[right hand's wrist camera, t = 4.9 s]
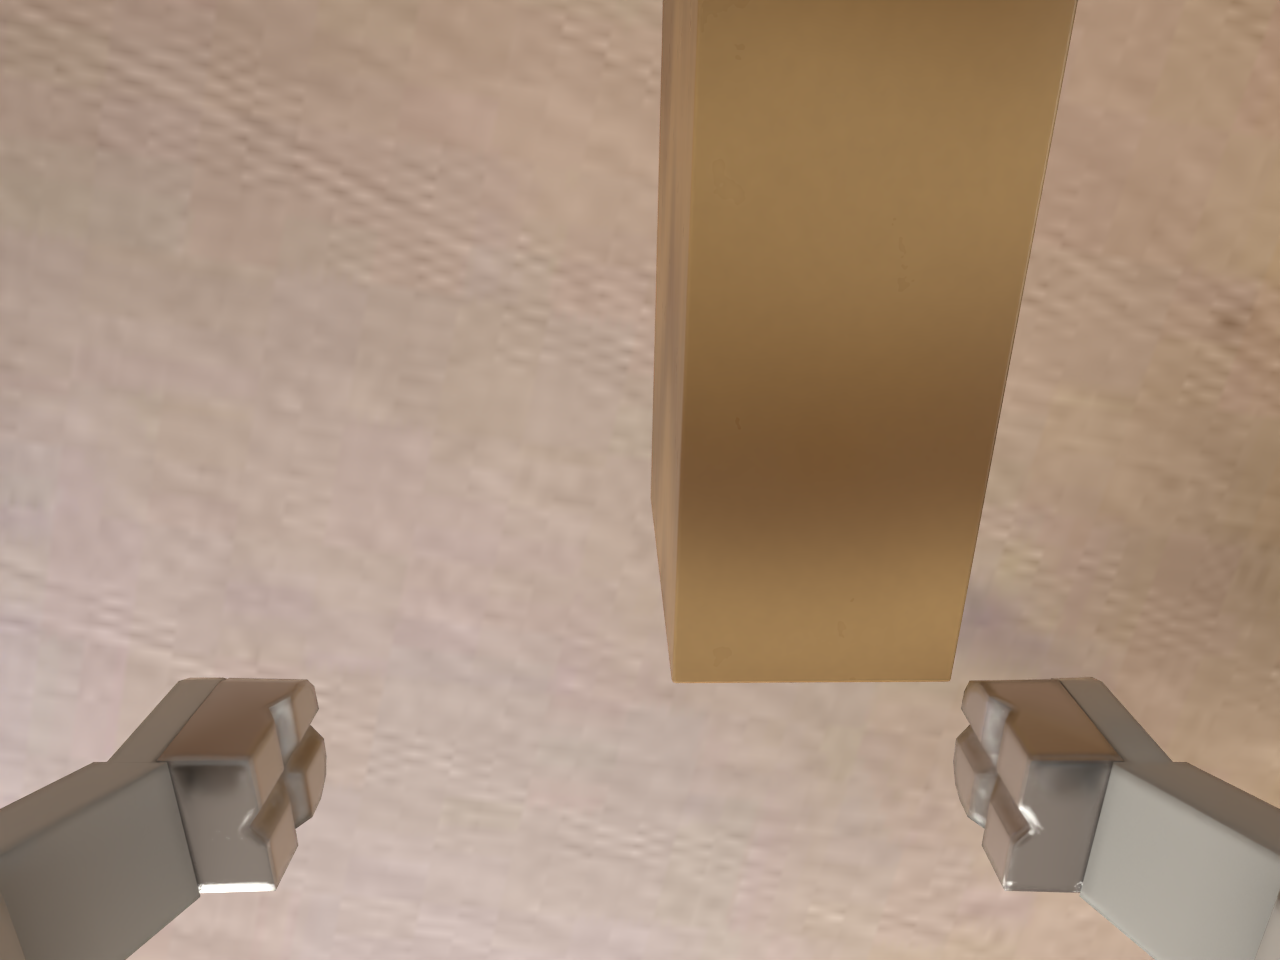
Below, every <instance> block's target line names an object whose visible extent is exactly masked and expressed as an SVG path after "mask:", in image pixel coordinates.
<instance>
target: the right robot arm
mask: <svg viewBox="0 0 1280 960" xmlns="http://www.w3.org/2000/svg"><path fill="white" fill-rule="evenodd" d="M318 709H319V707H318V702H317V697H316V693H315V688H314V686H313V685H312V684H311V683H310V682H309V681H308V680H303V679H256V678H228V679H226V678H188V679H184V680H181V681H179V682H178V683H177V684H176V685H175V686H174V687H173V688H172V689H171V690H170V692H169V693H168V694H167V695H166V696H165V697H164V698H163V699H162V701H161V702H160V703H159V704H158V705H157V706H156V707H155V708H154V710H153V711H152V712H151V713H150V714H149V715H148V716H147V718H146V719H145V720H144V721H143V722H142V723H141V724H140V725H139V727H138V728H137V729H136V730H135V731H134V732H133V733H132V734H131V736H130V737H129V738H128V739H127V740H126V741H125V742H124V743H123V745H122V746H121V747H120V748H119V749H118V750H117V751H116V752H115V754H114V755H113V756H112V757H111V758H110V759H109V760H108V762H93V763H91V764H89V765H87V766H85V767H83V768H81V769H79V770H77V771H75V772H73V773H71V774H69V775H67V776H65V777H63V778H61V779H59V780H57V781H55V782H53V783H51V784H49V785H47V786H45V787H43V788H41V789H39V790H37V791H35V792H33V793H31V794H29V795H27V796H25V797H23V798H21V799H19V800H17V801H15V802H13V803H11V804H9V805H7V806H5V807H3V808H1V809H0V960H126V959H127V958H128V957H129V956H130V955H132V954H133V953H134V952H135V951H136V950H137V949H139V948H140V947H141V946H142V945H143V944H145V943H146V942H147V941H148V940H149V939H151V938H152V937H153V936H154V935H155V934H156V933H158V932H159V931H160V930H161V929H162V928H164V927H165V926H166V925H167V924H168V923H170V922H171V921H172V920H173V919H174V918H176V917H177V916H178V915H179V914H180V913H181V912H183V911H184V910H185V909H186V908H187V907H189V906H190V905H191V904H192V903H193V902H195V901H196V900H197V899H198V898H199V897H200V893H208V892H242V891H276V889H277V887H278V885H279V883H280V881H281V879H282V877H283V875H284V873H285V871H286V869H287V867H288V865H289V863H290V861H291V859H292V857H293V855H294V853H295V851H296V849H297V847H298V841H297V836H296V830H295V829H296V828H297V827H299V826H300V825H302V824H303V823H304V822H306V821H307V820H309V819H310V818H311V817H313V814H314V812H315V810H316V808H317V806H318V804H319V801H320V799H321V796H322V791H323V787H324V782H325V777H326V750H325V743H324V738H323V737H322V736H321V735H320V734H319V733H318V732H317V731H316V730H315V729H314V728H313V727H312V726H311V725H310V724H311V722H312V720H313V718H314V716H315V715H316V713H317V711H318ZM961 709H962V711H963V713H964V715H965V716H966V718H967V720H968V722H969V723H970V725H969V726H968V727H967V728H966V729H965V730H964V731H963V732H962V733H961V734H960V735H959V736H958V737H957V738H956V744H955V752H954V760H953V763H954V775H955V785H956V788H957V792H958V795H959V799H960V802H961V804H962V806H963V808H964V810H965V812H966V814H967V816H968V817H969V818H970V819H971V820H973V821H974V822H976V823H977V824H979V825H980V826H981V827H983V828H984V829H985V830H984V836H983V841H982V847H983V849H984V851H985V853H986V855H987V857H988V859H989V861H990V863H991V865H992V867H993V869H994V871H995V873H996V875H997V877H998V878H999V880H1000V882H1001V884H1002V886H1003V888H1004V890H1005V891H1037V892H1072V893H1080V897H1081V898H1082V899H1083V900H1085V901H1086V902H1087V903H1088V904H1089V905H1091V906H1092V907H1093V908H1094V909H1095V910H1097V911H1098V912H1099V913H1100V914H1101V915H1102V916H1104V917H1105V918H1106V919H1107V920H1108V921H1110V922H1111V923H1112V924H1113V925H1114V926H1116V927H1117V928H1118V929H1119V930H1120V931H1121V932H1123V933H1124V934H1125V935H1126V936H1127V937H1129V938H1130V939H1131V940H1132V941H1133V942H1135V943H1136V944H1137V945H1138V946H1139V947H1140V948H1142V949H1143V950H1144V951H1145V952H1146V953H1148V954H1149V955H1150V956H1151V957H1152V958H1154V959H1155V960H1280V809H1278V808H1276V807H1274V806H1272V805H1270V804H1268V803H1266V802H1264V801H1263V800H1261V799H1259V798H1257V797H1255V796H1253V795H1251V794H1249V793H1247V792H1245V791H1243V790H1241V789H1239V788H1237V787H1235V786H1233V785H1231V784H1229V783H1227V782H1225V781H1223V780H1221V779H1219V778H1217V777H1215V776H1213V775H1211V774H1209V773H1207V772H1205V771H1203V770H1201V769H1199V768H1197V767H1195V766H1193V765H1191V764H1189V763H1187V762H1172V760H1171V759H1170V758H1169V757H1168V756H1167V755H1166V754H1165V752H1164V751H1163V750H1162V749H1161V748H1160V747H1159V746H1158V745H1157V743H1156V742H1155V741H1154V740H1153V739H1152V738H1151V737H1150V736H1149V734H1148V733H1147V732H1146V731H1145V730H1144V729H1143V728H1142V727H1141V725H1140V724H1139V723H1138V722H1137V721H1136V720H1135V719H1134V718H1133V716H1132V715H1131V714H1130V713H1129V712H1128V711H1127V710H1126V708H1125V707H1124V706H1123V705H1122V704H1121V703H1120V702H1119V701H1118V699H1117V698H1116V697H1115V696H1114V695H1113V694H1112V693H1111V692H1110V690H1109V689H1108V688H1107V687H1106V686H1105V685H1104V684H1103V683H1102V682H1101V681H1099V680H1097V679H1095V678H1092V677H1083V678H1053V679H1044V680H981V681H969V683H968V685H967V687H966V689H965V691H964V696H963V701H962V707H961Z"/></svg>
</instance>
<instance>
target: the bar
mask: <svg viewBox="0 0 1280 960" xmlns="http://www.w3.org/2000/svg"><path fill="white" fill-rule="evenodd" d="M1077 2H1078V0H663V20H662V61H661V101H660V142H659V183H658V224H657V264H656V305H655V346H654V387H653V427H652V468H651V504H652V512H653V521H654V530H655V538H656V547H657V556H658V564H659V573H660V582H661V590H662V599H663V608H664V616H665V625H666V634H667V642H668V651H669V660H670V668H671V677H672V681H673V682H674V683H763V682H942V681H950V679H951V674H952V668H953V663H954V658H955V652H956V647H957V642H958V636H959V631H960V626H961V620H962V615H963V610H964V604H965V599H966V594H967V588H968V583H969V578H970V572H971V567H972V562H973V556H974V551H975V546H976V540H977V535H978V530H979V524H980V519H981V514H982V508H983V503H984V498H985V492H986V487H987V482H988V476H989V471H990V466H991V460H992V455H993V450H994V444H995V439H996V434H997V428H998V423H999V418H1000V412H1001V407H1002V402H1003V396H1004V391H1005V386H1006V380H1007V375H1008V370H1009V364H1010V359H1011V354H1012V348H1013V343H1014V338H1015V332H1016V327H1017V322H1018V316H1019V311H1020V306H1021V300H1022V295H1023V290H1024V284H1025V279H1026V274H1027V268H1028V263H1029V258H1030V252H1031V247H1032V242H1033V236H1034V231H1035V226H1036V220H1037V215H1038V210H1039V204H1040V199H1041V194H1042V188H1043V183H1044V178H1045V172H1046V167H1047V162H1048V156H1049V151H1050V146H1051V140H1052V135H1053V130H1054V124H1055V119H1056V114H1057V108H1058V103H1059V98H1060V92H1061V87H1062V82H1063V76H1064V71H1065V66H1066V60H1067V55H1068V50H1069V44H1070V39H1071V34H1072V28H1073V23H1074V18H1075V12H1076V7H1077Z"/></svg>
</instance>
